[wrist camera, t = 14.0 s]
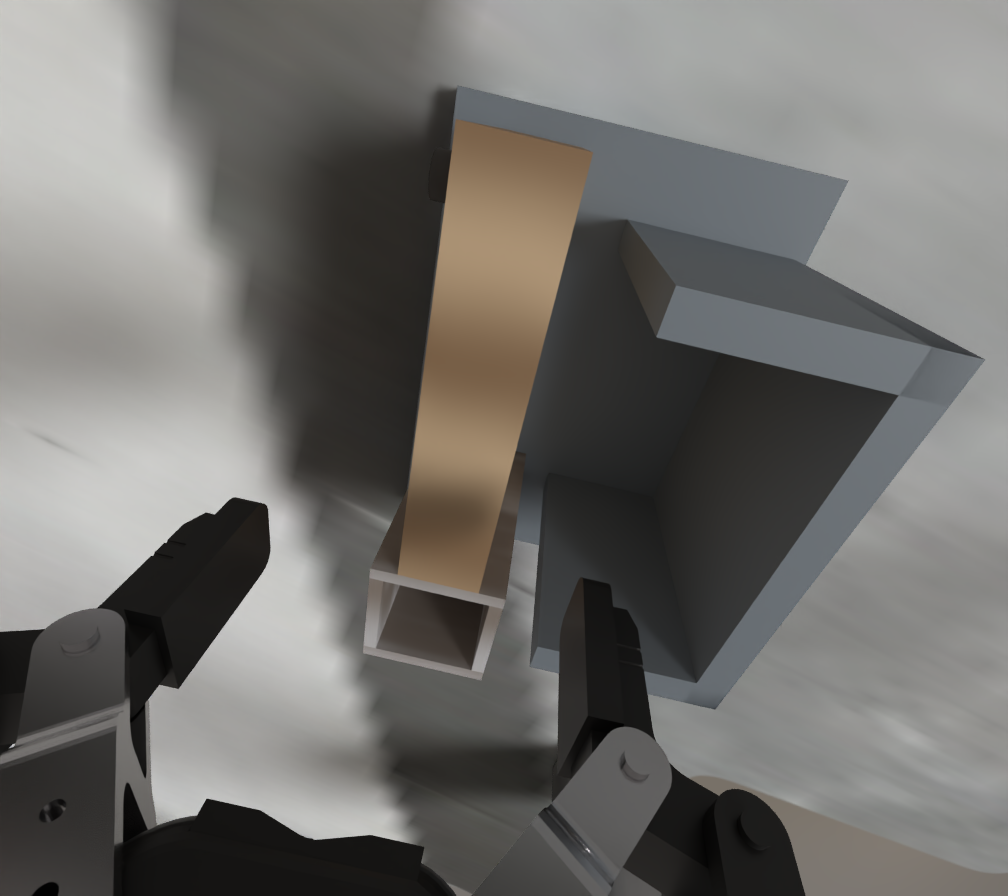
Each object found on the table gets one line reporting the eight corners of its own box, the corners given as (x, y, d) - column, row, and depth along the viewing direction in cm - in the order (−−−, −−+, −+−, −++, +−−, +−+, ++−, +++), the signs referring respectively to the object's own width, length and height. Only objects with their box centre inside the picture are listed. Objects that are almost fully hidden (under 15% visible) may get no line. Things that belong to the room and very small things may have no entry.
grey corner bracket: (646, 553, 31) (685, 765, 21) (410, 498, 31) (327, 683, 20) (830, 178, 20) (1123, 219, 9) (464, 89, 20) (344, 29, 9)
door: (506, 524, 29) (481, 680, 21) (419, 503, 29) (358, 651, 21) (608, 153, 19) (639, 163, 11) (475, 121, 19) (400, 105, 11)
